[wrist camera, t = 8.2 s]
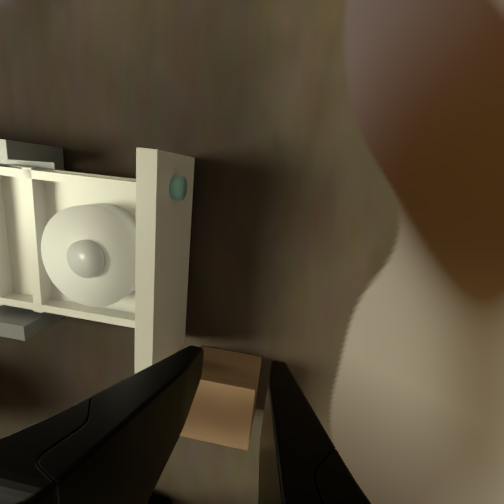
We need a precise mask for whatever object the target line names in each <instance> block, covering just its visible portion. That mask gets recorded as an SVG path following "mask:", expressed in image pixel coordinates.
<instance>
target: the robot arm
mask: <svg viewBox="0 0 504 504" xmlns="http://www.w3.org/2000/svg"><path fill="white" fill-rule="evenodd" d="M203 355H204V350H203V348H202V347H197V346H188V347H186V348H184V349H182V350H180V351H178V352H176V353H174V354H172V355H171V356H169V357H167V358H165V359H163V360H161V361H159V362H157V363H155V364H153V365H151V366H149V367H147V368H145V369H143V370H141V371H139V372H137V373H135V374H133V375H131V376H129V377H128V378H126V379H124V380H122V381H120V382H118V383H116V384H114V385H112V386H110V387H108V388H106V389H104V390H102V391H100V392H98V393H96V394H94V395H92V396H91V398H86V399H84V400H82V401H80V402H78V403H77V404H75V405H73V406H70V407H68V408H66V409H64V410H62V411H60V412H58V413H56V414H54V415H52V416H50V417H48V418H45V419H43V420H41V421H39V422H36V423H34V424H32V425H30V426H28V427H25V428H23V429H21V430H18V431H16V432H14V433H11V434H9V435H7V436H4V437H2V438H0V504H172V503H171V501H170V500H168V499H165V498H161V497H157V496H153V495H151V494H152V492H153V490H154V488H155V486H156V484H157V482H158V480H159V478H160V476H161V474H162V472H163V469H164V467H165V465H166V463H167V461H168V459H169V457H170V455H171V453H172V451H173V449H174V447H175V445H176V443H177V441H178V438H179V436H180V434H181V432H182V430H183V427H184V425H185V422H186V419H187V417H188V414H189V411H190V408H191V405H192V403H193V400H194V397H195V394H196V391H197V388H198V386H199V383H200V380H201V376H202V368H203ZM258 504H371V503H370V501H369V500H368V499H367V497H366V496H365V494H364V493H363V491H362V490H361V488H360V487H359V485H358V484H357V483H356V481H355V479H354V478H353V476H352V474H351V473H350V471H349V470H348V468H347V466H346V465H345V463H344V462H343V460H342V458H341V456H340V455H339V453H338V451H337V450H335V446H334V445H333V443H332V441H331V440H330V438H329V436H328V434H327V433H326V431H325V429H324V428H323V426H322V424H321V423H320V421H319V419H318V417H317V416H316V414H315V412H314V411H313V409H312V407H311V405H310V404H309V402H308V400H307V399H306V397H305V395H304V394H303V392H302V390H301V388H300V387H299V385H298V383H297V382H296V380H295V378H294V376H293V375H292V373H291V371H290V370H289V368H288V366H287V365H286V363H285V362H280V361H272V362H271V367H270V373H269V380H268V387H267V395H266V402H265V409H264V416H263V424H262V431H261V439H260V455H259V499H258Z"/></svg>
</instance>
